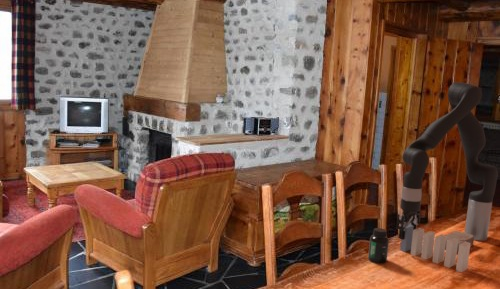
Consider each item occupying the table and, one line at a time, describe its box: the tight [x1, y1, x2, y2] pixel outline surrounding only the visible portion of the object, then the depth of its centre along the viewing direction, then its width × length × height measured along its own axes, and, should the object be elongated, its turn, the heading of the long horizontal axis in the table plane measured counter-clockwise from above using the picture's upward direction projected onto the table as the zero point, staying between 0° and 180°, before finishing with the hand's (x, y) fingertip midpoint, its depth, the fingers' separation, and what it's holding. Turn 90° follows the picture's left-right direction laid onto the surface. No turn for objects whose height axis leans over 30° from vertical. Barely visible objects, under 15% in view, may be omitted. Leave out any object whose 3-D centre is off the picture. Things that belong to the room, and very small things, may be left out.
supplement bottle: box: [368, 227, 390, 265], centre depth 170 cm, size 7×7×12 cm
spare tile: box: [399, 224, 414, 253], centre depth 182 cm, size 5×2×10 cm, turn 132°
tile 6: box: [455, 242, 471, 273], centre depth 165 cm, size 5×2×10 cm, turn 132°
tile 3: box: [420, 230, 436, 260], centre depth 175 cm, size 5×2×10 cm, turn 132°
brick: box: [444, 230, 475, 253], centre depth 189 cm, size 17×8×5 cm, turn 129°
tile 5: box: [443, 238, 458, 269], centre depth 169 cm, size 5×2×10 cm, turn 132°
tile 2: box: [410, 227, 425, 257], centre depth 179 cm, size 5×2×10 cm, turn 132°
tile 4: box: [432, 233, 446, 264], centre depth 172 cm, size 5×2×10 cm, turn 132°
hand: (407, 236), depth 182 cm, fingers open, 8 cm apart
